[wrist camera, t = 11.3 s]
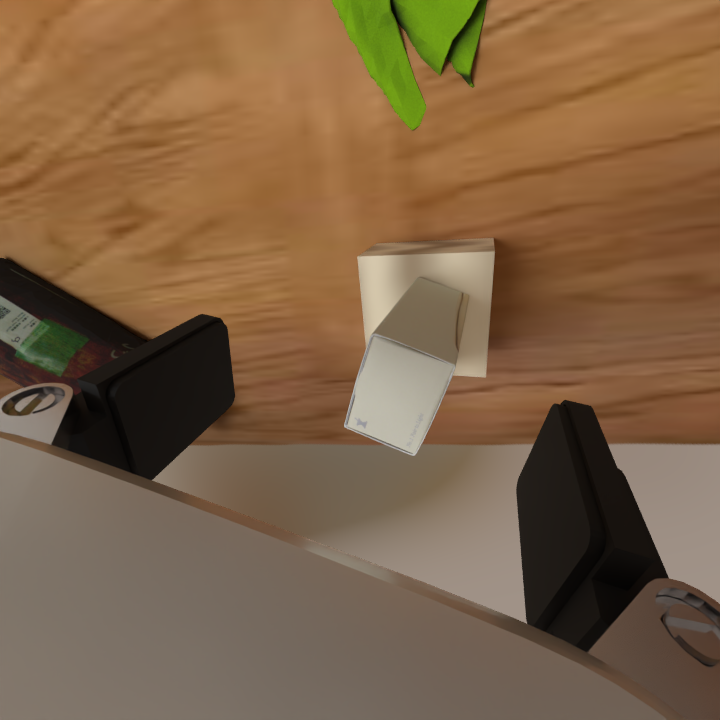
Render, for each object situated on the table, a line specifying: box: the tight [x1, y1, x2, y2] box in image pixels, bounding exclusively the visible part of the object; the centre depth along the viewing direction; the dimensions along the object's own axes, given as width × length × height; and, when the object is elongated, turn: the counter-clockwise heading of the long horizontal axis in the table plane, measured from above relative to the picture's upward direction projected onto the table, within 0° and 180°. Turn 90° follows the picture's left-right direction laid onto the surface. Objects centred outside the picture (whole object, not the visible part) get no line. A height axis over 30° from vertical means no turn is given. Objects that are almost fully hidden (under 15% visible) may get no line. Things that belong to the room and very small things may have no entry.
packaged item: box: [0, 258, 147, 395], centre depth 46 cm, size 39×10×10 cm, turn 66°
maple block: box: [358, 238, 495, 377], centre depth 31 cm, size 10×10×6 cm
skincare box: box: [344, 277, 469, 455], centre depth 23 cm, size 6×4×12 cm
